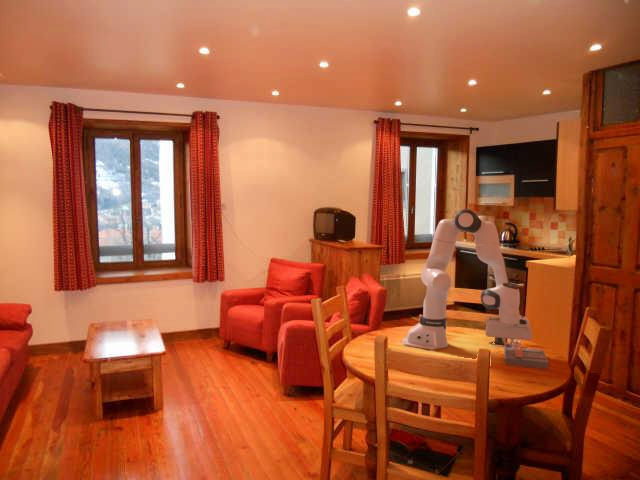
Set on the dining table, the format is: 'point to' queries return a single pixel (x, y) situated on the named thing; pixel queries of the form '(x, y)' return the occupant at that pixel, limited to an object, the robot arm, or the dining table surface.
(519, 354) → the fader near
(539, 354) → the console
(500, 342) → the condiment
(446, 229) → the robot arm
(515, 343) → the fader far
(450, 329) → the dining table surface
